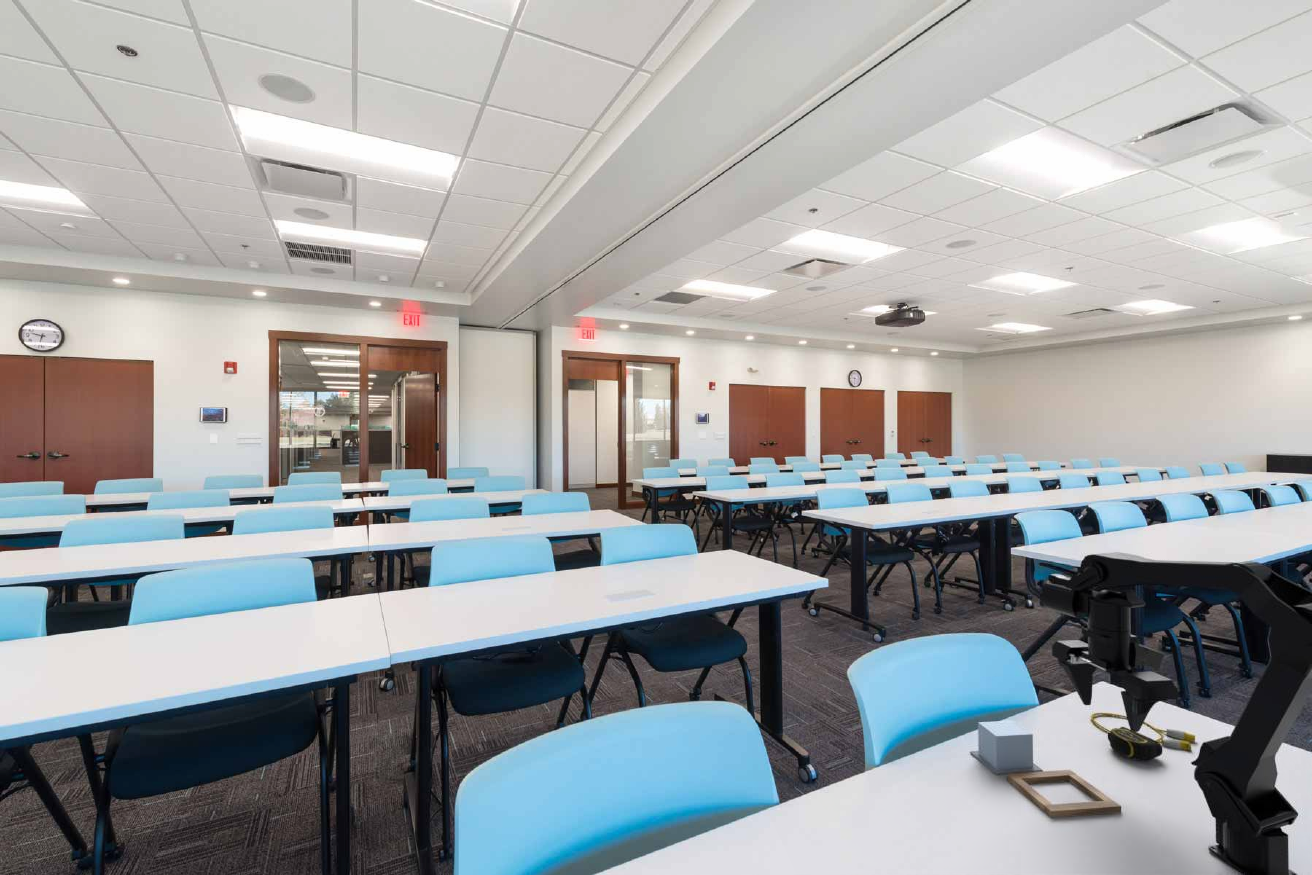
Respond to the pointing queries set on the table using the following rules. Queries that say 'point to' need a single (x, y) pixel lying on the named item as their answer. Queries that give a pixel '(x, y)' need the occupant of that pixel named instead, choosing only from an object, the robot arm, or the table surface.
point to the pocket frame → (1068, 809)
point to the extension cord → (1166, 742)
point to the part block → (1005, 744)
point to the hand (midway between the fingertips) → (1109, 717)
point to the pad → (1004, 771)
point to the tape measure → (1134, 744)
